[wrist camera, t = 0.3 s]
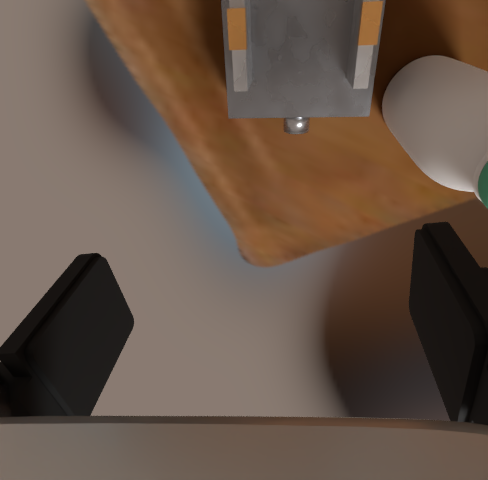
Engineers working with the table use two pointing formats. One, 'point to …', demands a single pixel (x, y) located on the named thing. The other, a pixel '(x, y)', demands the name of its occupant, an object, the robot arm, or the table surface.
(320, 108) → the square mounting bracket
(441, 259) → the robot arm
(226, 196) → the table surface
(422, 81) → the milk bottle
